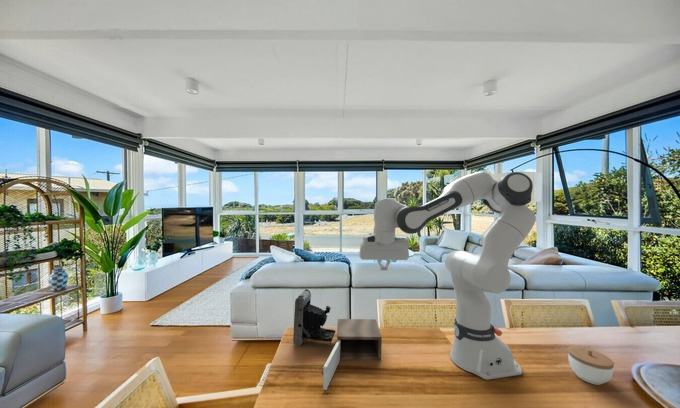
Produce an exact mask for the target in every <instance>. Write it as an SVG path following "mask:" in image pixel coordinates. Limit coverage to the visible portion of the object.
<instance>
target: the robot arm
mask: <svg viewBox="0 0 680 408" xmlns="http://www.w3.org/2000/svg"><path fill="white" fill-rule="evenodd" d="M533 185H534V183H533V181H532V179H531V177H529V176H528V175H527V174H525V173H522V172H519V171H518V172H517V171H514V172H509V173H508V174H505V175H503V176H502V177H501V178H500V179H499V180H495V179H494V178H493V177H492V175H491V174H490V173H488V172H486V171H477V172H474V173H471V174H470V173H469V174H467V175H464V176H462V177H460V178H458V179H456V180H454V181H452V182H450V183H449V184H448V185H446V186H444V188H443V189H442V193H441V195H439V197H437V198H435V199H433V200H430V201H429V202H427V203H425V204H422V205H419V206H407V205H405V204H403V203H401V202H399V201H397V200H396V199H395V198H393V197H387V198H381V199H379V200H377V201H376V202H375V204H374V210H373V222H374V227H373V231H372V232H370V233H367V234H363V236H362V241H361V243H360V247H359V258H360V259H361V260H364V261H365V260H367V261H368V260H370V261H371V260H372V261H374V260H375V261H377V263H378V265H379V271H385V272H386V271H388V267H389V266H390V264H391V261H408V260H409V259H410V253H409V247H410V241H409V239H408V238H407V237H406V236H405V237H403V236H402V237H401V236H400V237H399V236H396V229H400V230H401V231H402V232H403V233H405V234H409V235H413V234H417V233H419V232H421V231H422V229H424V228H425V227H426V225H427V224H429V222H431V221H432V220H435V219H436V218H438V217H440V216H442V215H445V214H447V213H448V212H450V211H453V210H457V209H460V208H463V207H466V206H468V205H471V204H473V203H475V202H478V201H479V200H481V202H482V203H484V204H485V205H486V207H487V208H488V209H489V210H490V211H492V212H493V213H496V214H499V215H498V217H496V219H495V220H494V221H493V222H492V223H491V224H490V226H489V227H487V229H486V230H485V231H484V232H483V233H482V235H480V242H481V245H482V246H481V249H480V250H479V252H478V253H477V254H476V253H473V252H470V251H467V250H452V251H450V252H449V253H448V254H447V255H446V256H445V260H444V265H445V268H446V270H447V272H448V274H449V276H450V279H451V282H452V286H453V290H454V295H455V318H454V325H453V326H454V327H453V333H454V339H453V344H452V348H451V350H450V354H449V357H450V359H451V362H453V363H454V364H455V365H456V366H457V367H459V368H461V369H462V370H465V371H467V372H469V373H472V374H474V375H476V376H478V377H480V378H482V379H483V380H487V381H489V380H492V379H500V378H507V377H512V376H521V375H523V371H522V370H523V369H522V367H521V365H520V364H519V363H518V362H517V360H515V359H514V355H513V352H512V350H511V348H510V347H509V346H508V345H507V344H506V343H505V342H503V341H502V340H501V338H499V337H501V336H503V331H502V330H500V329H499V327H495V326H494V325H493V324H492V323H491V322H492V321H491V319H492V318H491V314H492V306H491V302H490V300H489V299H488V297H487V296H486V294H485V292H487V293H490V294H494V295H495V294H501V293H504V292H505V291H506V290H507V289H508V288H509V287H510V284H511V278H512V277H511V273H510V270H509V268H508V267H509V262H510V259H511V257H512V255H513V254H514V253H515V251H516V250H517V249H518V248H519V246H520V245H521V244H522V243H523V242H524V240H525V239H526V238H527V236H528V235H530V232H531V230H532V229H533V228H534V225H535V224H536V221H537V217H536V214H535V212H534V211H533V210H531V208H529V207H528V206H527V205H528V204H530V203H531V202H532V193H533V189H534V188H533V187H534V186H533ZM382 261H386V263H385V265H383V264H382Z"/></svg>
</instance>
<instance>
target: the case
mask: <svg viewBox="0 0 680 408" xmlns="http://www.w3.org/2000/svg"><path fill="white" fill-rule="evenodd" d="M336 328H337V332H336V335H337V336H336V339H337V340H341V344H340V361H341V360H343V361H347V360H348V361H351V360H352V361H357V360H359V361H381V360H382V334H381V331H380V328H379V324H378V322H377V319H371V318H370V319H369V318H367V319H366V318H365V319H364V318H362V319H361V318H337V327H336ZM337 340H336V341H337Z"/></svg>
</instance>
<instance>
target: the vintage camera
mask: <svg viewBox="0 0 680 408" xmlns="http://www.w3.org/2000/svg"><path fill="white" fill-rule="evenodd" d="M311 297H312V294H311V291H310V290H309V289H308V288H305V289H304V290H302V292H301V293H300V294H299V295H298V296H297V298H295V300H294V316H293V335H292V336H293V338H292V343H293V345H294V346H295V347H300V346H301V345H302V343H303V342H304V341H305V340H311V341H315V342H325V343H326V342H328V343H329V344H330V345H331V344H332V341H333V339H334V336H335V334H336V333H337V332H336V330H335V329H329V328H324V325H326V323H327V322H326V321H327V319H328V315H327V314H329V313H330V312H331V309H332V308H331V307H330V306H329V305H326V307H325V309H322V308H320V307H319V306H316V305H313V304H311V299H312V298H311Z"/></svg>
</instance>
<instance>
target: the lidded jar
mask: <svg viewBox="0 0 680 408" xmlns="http://www.w3.org/2000/svg"><path fill="white" fill-rule="evenodd" d="M567 352H568V353H567V356H568V358H567V359H568V363H569V367H570V368H571V370H572V371H573V372H574V373H575V374H576V376H577V377H578V378H579V379H581V380H582V381H585V382H586V383H588V384H590V385H591V384H592V385H594V386H595V385H596V386H600V385H603V384H606V383H608V382H609V381H610V380H611V379H612V376H613V372H614V367H615V366H614V361H613V360H612V359H611V358H610V357H608V356H607V355H605V354H603V353H601V352H600V351H597V350H594V349H591V348H588V347H584V346H579V345H578V346H577V345H571V346H569V347H568V348H567Z"/></svg>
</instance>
